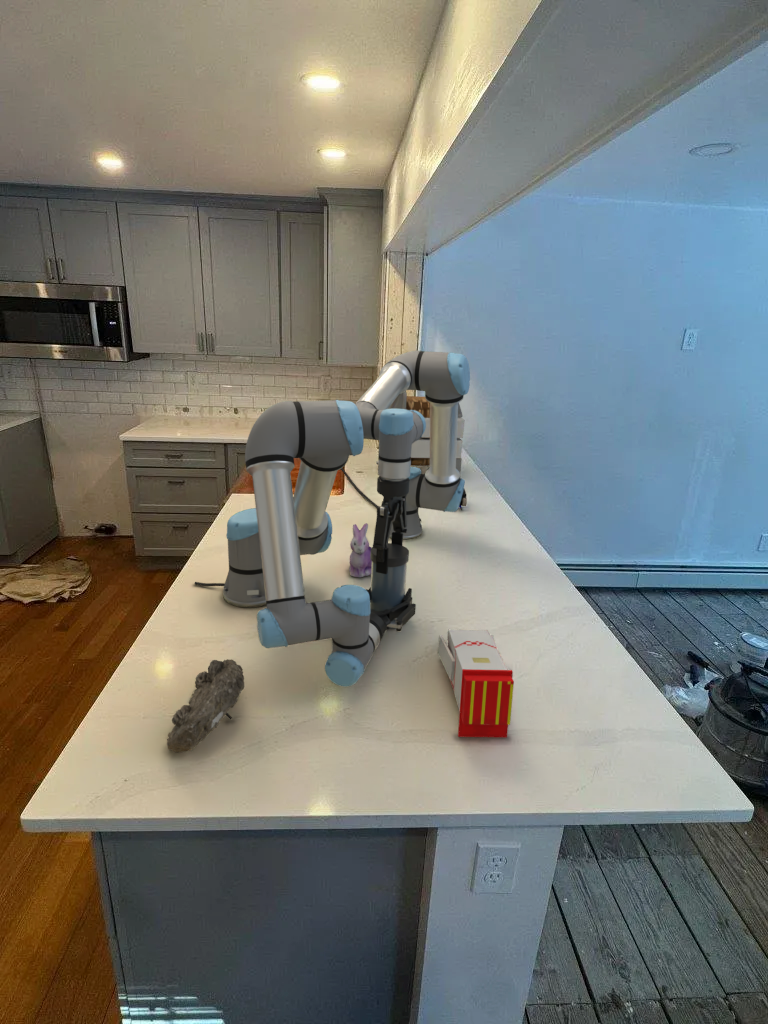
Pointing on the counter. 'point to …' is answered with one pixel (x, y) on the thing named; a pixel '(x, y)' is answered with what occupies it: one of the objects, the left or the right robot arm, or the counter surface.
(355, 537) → the figurine
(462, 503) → the figurine character
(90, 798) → the counter surface
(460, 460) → the white slatted crate
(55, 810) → the counter surface
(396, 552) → the lid
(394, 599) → the jar
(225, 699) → the fossil
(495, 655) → the toy
